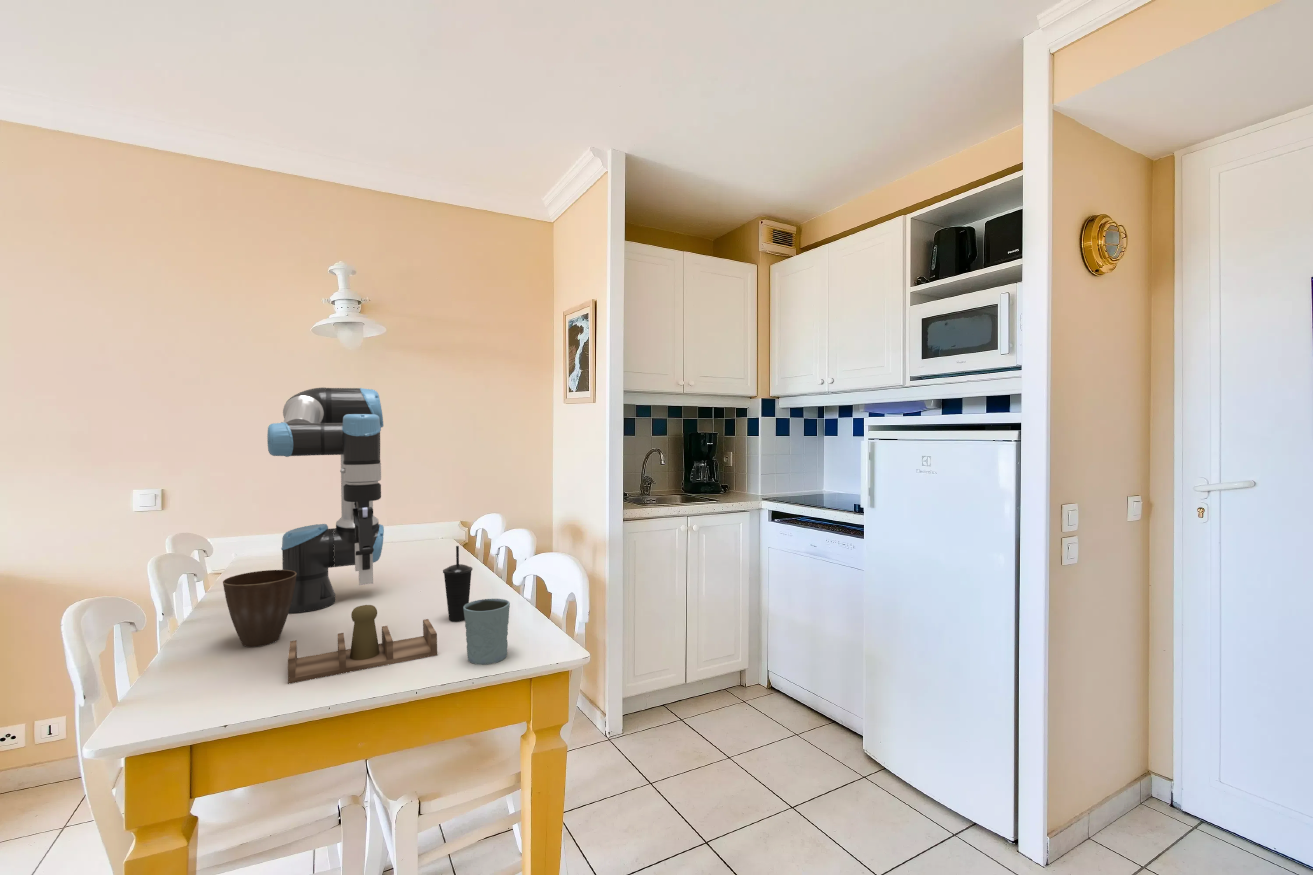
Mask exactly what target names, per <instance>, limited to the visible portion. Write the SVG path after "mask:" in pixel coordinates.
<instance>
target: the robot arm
mask: <svg viewBox="0 0 1313 875" xmlns="http://www.w3.org/2000/svg"><path fill="white" fill-rule="evenodd" d="M381 404H382V403H381V400H380V395H379V392H378V391H377V390H376V389H372V388H371V389H370V388H362V387H315V388H310V389H306V390H302V391H300V392H299V393H296V394H294V395H292V396H290V397H289V399H288V400H287V401H286V402H285V404H284V406H283V408H282V416H283V421H281V422H277V423H276V422H275V423H274V422H273V423H270V424H269V426H268V427H267V436H266V437H267V438H266V439H267V450H268V453H269V455H270V456H273V457H286V458H289V457H301V456H302V457H307V456H340V470H339V472H340V483H341V484H340V492H341V493H340V494H341V495H340V497H341V500H340V502H341V503H340V504H341V517H340V518H339V519H338V520H336V522H335V527H334V528H329V526H328V524H326V523H322V524H321V523H320V524H312V525H306V526H305V525H304V526H301V527H297V528H293V529H290V530H288V531H286V532H285V533H284V534H283V535H282V541H281V542H282V543H281V548H280V549H281V552H282V554H281V555H282V558H281V559H282V562H281V563H282V565H281V567H282V570H291V571H295V572H296V573H297V574H296V581H295V587H294V593H293V597H292V601H291V605H290V609H289V612H288V614H290V613H291V614H295V613H304V612H311V611H316V610H321V609H325V608H327V607H329V606H330V607H331V606H332V605H333V604H335V603H336V593H335V590H334V587H333V585H332V583H331V580H330V578H329V569H330V568H339V567H341V568H342V567H348V566H354V571H355V572H358V585H359V586H363V585H364V586H365V585H371V584H374V564H375V563H376V562H378V561H379V560H380V558H381V555H382V553H383V552H382V550H383V545H384V535H385V534H384V532H385V531H384V530H385V529H384V528H385V527H384V525H383V524H381V523H379V518H377V517H376V516H375V515H374V502H375V501H379V500H381V498H382V484H381V483H380V481H381V480H382V466H381V465H382V463H381V431H382V428H383V427H384V417H383V409H382V405H381Z"/></svg>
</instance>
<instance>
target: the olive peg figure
mask: <svg viewBox="0 0 1313 875" xmlns="http://www.w3.org/2000/svg"><path fill="white" fill-rule="evenodd" d="M350 615H351V620H352V622H353V627H352V629H353V630H352V638H351V644H350V649H351V652H350V659H352V660H365V659H370V658H373V657H375V656H377V655H379V653H380V651H379V645H378V644H379V640H378V633H377V628H376V620H375V619H376V618H377V616H378V610H377V607H376V606H375V605H372V604H362V605H359V606H356V607H354V608H353V610H352V611H351V614H350Z"/></svg>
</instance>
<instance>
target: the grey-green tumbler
mask: <svg viewBox="0 0 1313 875" xmlns="http://www.w3.org/2000/svg"><path fill="white" fill-rule="evenodd" d="M510 604H511V602H510V601H509V600H507V599H503V598H483V599H477V600H473V601H469V603H467V604H466V605H464V607H463V609H464V618H465V620H464V623H465V624H464V627H465V637H466V639H465V640H466V654H467V661H468V662H469V663H471V664H474V665H480V666H481V665H482V666H484V665H491V664H496V663H500V662H502V661H503V660H505V659H506V658H507V655H508V647H509V646H508V642H509V641H508V635H509V633H508V631H509V627H508V626H509V619H510V606H511V605H510Z"/></svg>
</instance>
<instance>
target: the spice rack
mask: <svg viewBox="0 0 1313 875" xmlns="http://www.w3.org/2000/svg"><path fill="white" fill-rule="evenodd" d="M297 644H298V643H297V639H296V640H290V641H289V646H288V647H289V648H288V657H287V675H288V676H287V680H288V682H287V684H288V685H290V684H294V683H295V682H296V683H299V682H305V681H310V679H311V680H315V678H316V679H321V678H326V677H325V676H327V677H331V676H330V675H332V676H337V675H341V673H342V674H345V673H346V672H347V673H351V672H350V671H353V672H357V671H362V669H363V670H367V668H368V669H372V668H373V669H374V668H377V666H378V667H382V666H383V665H384V666H388V664H389V665H393V664H397V663H404V662H409V661H410V662H411V661H414V660H420V659H424V658H425V659H426V658H430V657H434V656H438V632H437V631H436V630H435V628H434V626H433V624H432V623H431V621H430V620H429V619H428V618H427V619H426V618H425V619H422V636H415V637H410V638H405V639H398V640H394V639H393V638H392V635H391V632H390V628H389V626H388V625H383V626H381V643H378V645H379V651H380V653H379V655H377V656H375V657H373V658H370V659H365V660H352V659H350V652H351V648H348V649H347V648H346V647H347V646H346V641H345V634H344V632H339V633H337V650H335V651H331V652H330V651H329V652H325V653H324V652H323V653H319V654H313V655H306V656H301V657H298V656H297V655H298V651H297V650H298V649H297V648H298V647H297V646H298V645H297ZM336 674H337V675H336ZM289 683H290V684H289Z"/></svg>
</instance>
